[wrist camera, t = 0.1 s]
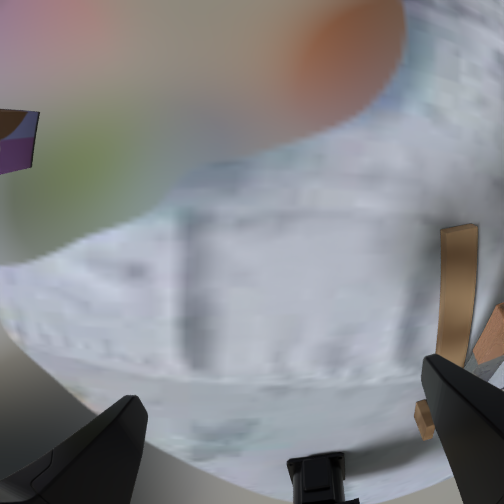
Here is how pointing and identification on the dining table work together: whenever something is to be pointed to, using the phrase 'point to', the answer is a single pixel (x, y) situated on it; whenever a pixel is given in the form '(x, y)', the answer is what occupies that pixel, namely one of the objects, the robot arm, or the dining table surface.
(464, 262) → the walnut tong base
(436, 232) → the dining table surface
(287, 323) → the dining table surface
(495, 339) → the metal tong arm
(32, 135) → the cereal box
